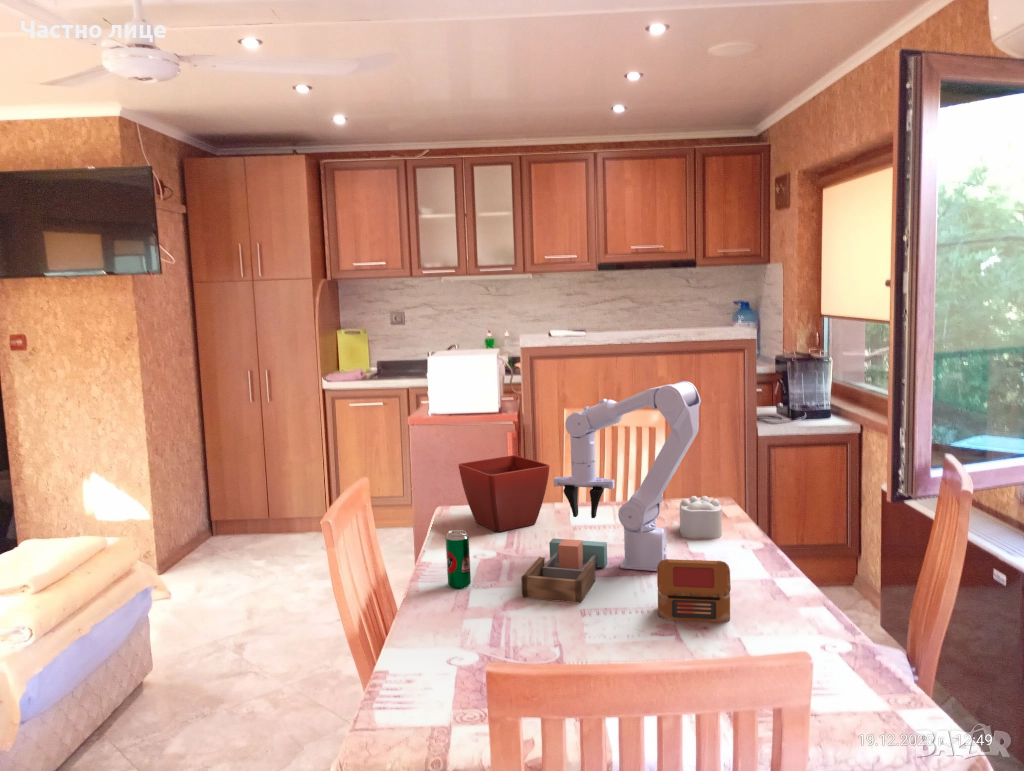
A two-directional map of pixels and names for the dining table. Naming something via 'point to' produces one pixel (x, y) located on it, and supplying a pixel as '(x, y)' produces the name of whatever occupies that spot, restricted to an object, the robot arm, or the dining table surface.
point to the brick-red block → (570, 554)
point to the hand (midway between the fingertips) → (584, 516)
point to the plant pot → (505, 490)
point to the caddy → (557, 584)
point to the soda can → (458, 559)
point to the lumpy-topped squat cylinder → (700, 518)
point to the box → (693, 590)
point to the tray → (590, 553)
